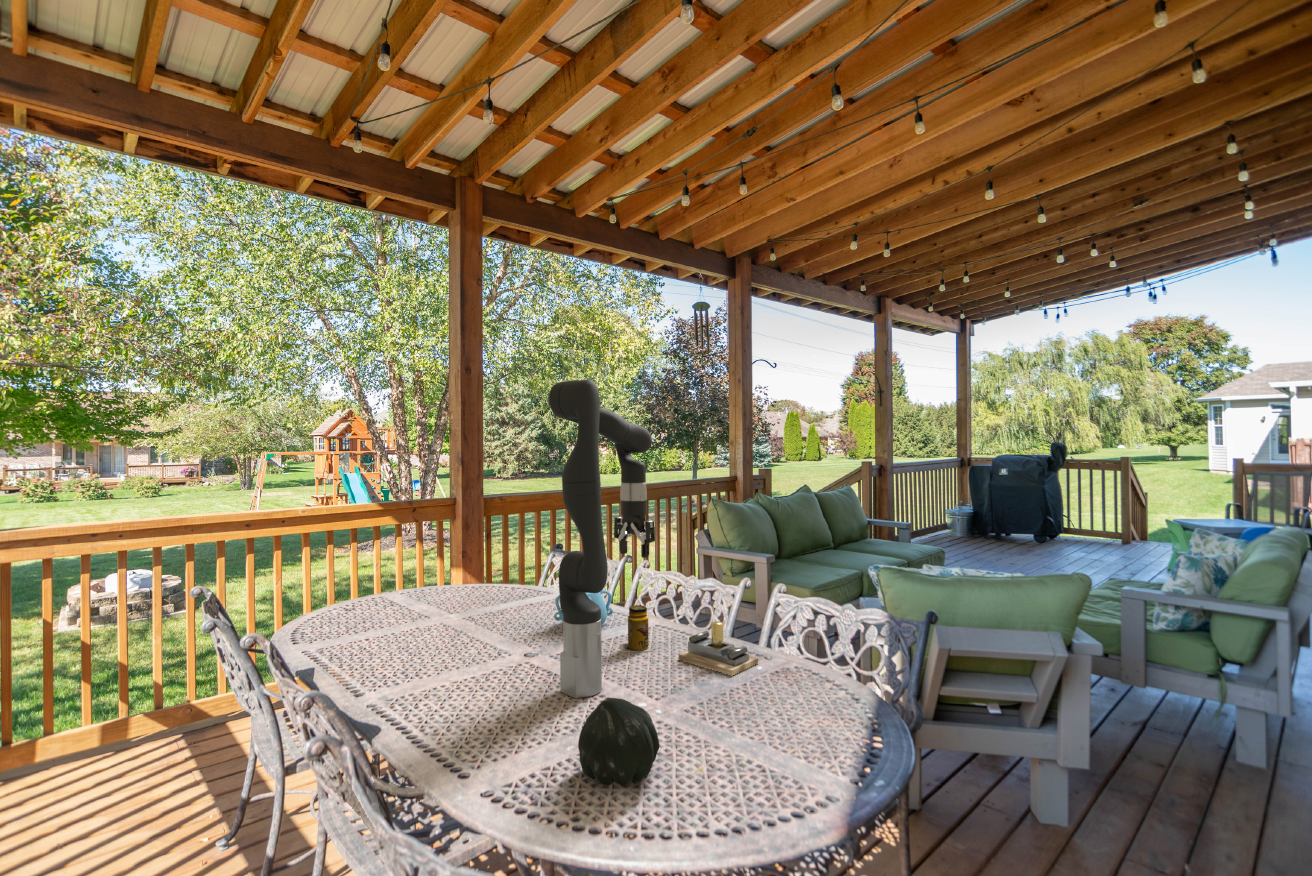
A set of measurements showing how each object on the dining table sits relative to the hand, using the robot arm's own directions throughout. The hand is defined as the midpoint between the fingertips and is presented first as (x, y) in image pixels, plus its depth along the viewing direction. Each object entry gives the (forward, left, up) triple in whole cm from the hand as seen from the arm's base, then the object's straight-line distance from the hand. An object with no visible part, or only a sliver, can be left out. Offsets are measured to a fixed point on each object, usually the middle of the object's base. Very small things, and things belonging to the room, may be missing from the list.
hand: (634, 555), depth 173 cm
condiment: (+4, +4, -28) cm, 29 cm away
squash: (-46, -42, -28) cm, 68 cm away
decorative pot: (+8, +32, -28) cm, 44 cm away
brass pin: (+11, -21, -27) cm, 36 cm away
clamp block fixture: (+11, -21, -28) cm, 37 cm away
